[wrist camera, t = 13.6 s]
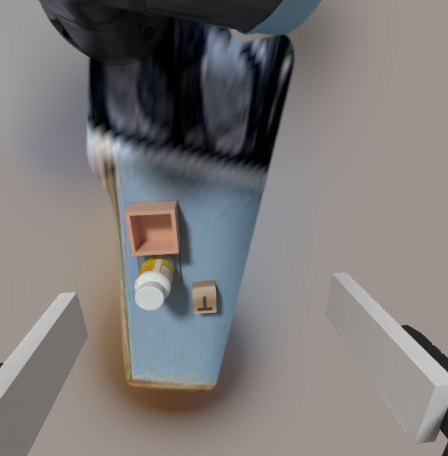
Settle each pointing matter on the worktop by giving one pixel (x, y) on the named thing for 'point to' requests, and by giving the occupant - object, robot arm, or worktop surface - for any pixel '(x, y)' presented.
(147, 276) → the supplement bottle
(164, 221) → the pink square bin
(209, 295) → the letter cube
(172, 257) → the slate coaster
